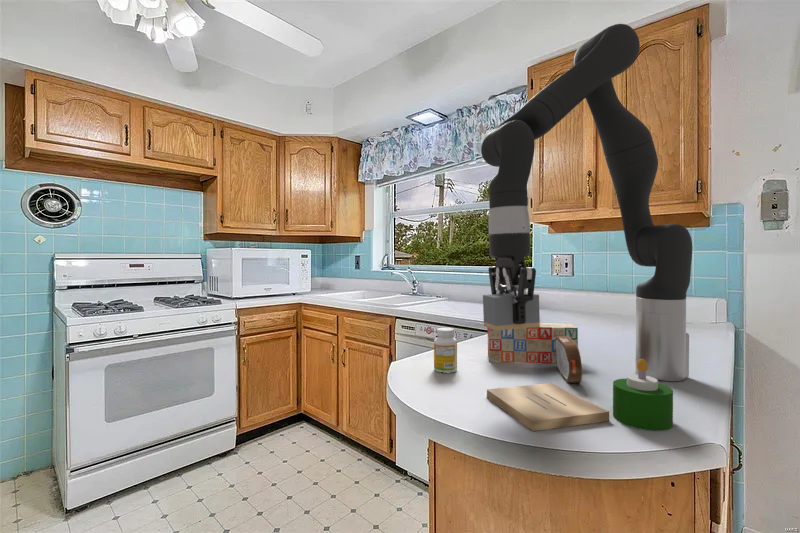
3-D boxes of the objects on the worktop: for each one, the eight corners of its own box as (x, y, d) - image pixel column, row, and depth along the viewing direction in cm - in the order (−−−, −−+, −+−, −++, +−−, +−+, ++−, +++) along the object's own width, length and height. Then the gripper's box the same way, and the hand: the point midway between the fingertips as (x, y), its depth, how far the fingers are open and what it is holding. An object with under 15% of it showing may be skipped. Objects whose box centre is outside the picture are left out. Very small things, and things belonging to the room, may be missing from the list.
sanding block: (483, 325, 76) (482, 295, 76) (525, 322, 79) (524, 292, 78) (495, 330, 72) (494, 297, 71) (539, 326, 74) (539, 294, 74)
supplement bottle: (441, 365, 96) (441, 326, 96) (461, 369, 93) (461, 328, 93) (429, 371, 92) (429, 329, 92) (450, 374, 89) (450, 332, 89)
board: (551, 390, 78) (551, 382, 78) (609, 420, 63) (609, 411, 63) (486, 397, 74) (486, 389, 74) (532, 431, 60) (532, 421, 60)
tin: (583, 388, 79) (583, 346, 79) (566, 387, 80) (566, 346, 80) (567, 367, 94) (567, 332, 94) (553, 367, 95) (553, 332, 94)
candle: (686, 428, 61) (686, 363, 60) (640, 433, 59) (641, 367, 59) (642, 408, 69) (643, 351, 69) (601, 412, 67) (601, 354, 67)
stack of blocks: (571, 359, 102) (571, 311, 102) (578, 365, 96) (578, 315, 96) (487, 356, 106) (487, 310, 105) (488, 362, 99) (488, 313, 99)
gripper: (549, 229, 68) (551, 326, 69) (508, 233, 82) (510, 314, 83) (510, 229, 67) (513, 329, 67) (475, 234, 81) (477, 317, 81)
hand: (511, 320), depth 75 cm, fingers closed on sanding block, 5 cm apart
